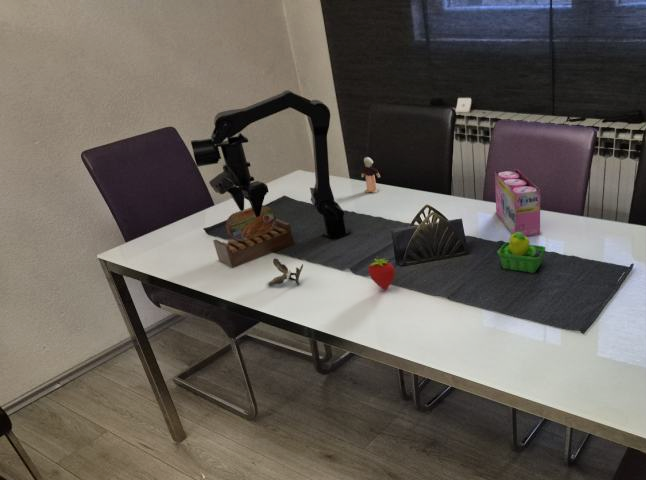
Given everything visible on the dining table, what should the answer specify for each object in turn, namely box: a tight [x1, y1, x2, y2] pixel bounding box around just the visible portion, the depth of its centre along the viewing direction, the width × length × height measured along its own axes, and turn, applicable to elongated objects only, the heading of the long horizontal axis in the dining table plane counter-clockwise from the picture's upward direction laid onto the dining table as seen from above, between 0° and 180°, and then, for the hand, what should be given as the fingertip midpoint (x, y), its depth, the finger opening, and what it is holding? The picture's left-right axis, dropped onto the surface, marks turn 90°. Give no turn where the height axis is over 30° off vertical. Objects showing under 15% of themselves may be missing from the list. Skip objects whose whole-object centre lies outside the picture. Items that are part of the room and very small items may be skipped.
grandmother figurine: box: [360, 156, 381, 194], centre depth 219 cm, size 8×4×13 cm, turn 80°
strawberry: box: [368, 257, 396, 291], centre depth 152 cm, size 6×8×10 cm
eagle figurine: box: [268, 258, 304, 287], centre depth 161 cm, size 8×7×9 cm
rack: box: [212, 218, 295, 269], centre depth 180 cm, size 8×21×6 cm, turn 135°
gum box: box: [494, 168, 542, 237], centre depth 184 cm, size 24×8×14 cm, turn 12°
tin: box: [225, 204, 277, 241], centre depth 177 cm, size 15×3×8 cm, turn 135°
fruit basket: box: [496, 232, 547, 274], centre depth 157 cm, size 11×9×11 cm
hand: (249, 213), depth 176 cm, fingers open, 9 cm apart
